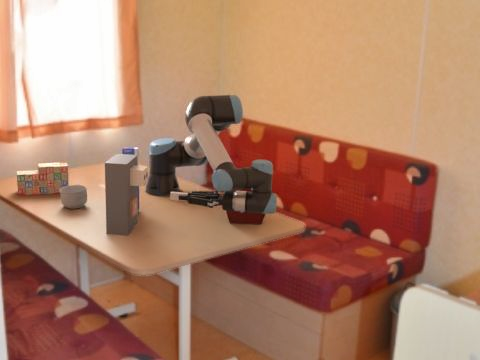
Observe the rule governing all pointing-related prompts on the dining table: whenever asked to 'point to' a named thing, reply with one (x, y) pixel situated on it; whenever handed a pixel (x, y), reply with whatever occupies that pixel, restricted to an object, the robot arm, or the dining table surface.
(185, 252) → the dining table surface
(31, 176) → the stack of blocks
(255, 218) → the plant pot
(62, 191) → the teacup
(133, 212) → the lower button
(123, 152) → the walkman
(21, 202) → the dining table surface
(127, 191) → the button post
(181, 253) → the dining table surface
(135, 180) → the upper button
